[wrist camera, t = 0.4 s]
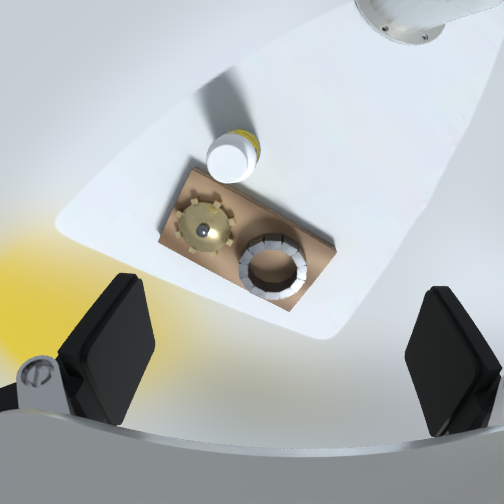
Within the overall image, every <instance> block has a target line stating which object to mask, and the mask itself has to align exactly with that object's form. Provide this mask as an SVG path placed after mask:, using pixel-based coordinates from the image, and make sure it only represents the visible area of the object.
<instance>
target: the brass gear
mask: <svg viewBox="0 0 504 504" xmlns="http://www.w3.org/2000/svg"><path fill="white" fill-rule="evenodd" d="M222 202H223V201H221V200H219V199H216V200H215V202H214V203H213V202H210V201H200V198H199V196H196V197H193V198H192V199H191V203H192V204H191V205H189V206H188V207H187V208H186V209H185V210H183V209H181V208H179V209H178V211H177V213H176V215H175V216H176V217H178V218H179V229H177V230H176V231H175V235H176V237H177V238H180V237H182V238H183V240H184V241H185V243H186V244H187V245H189V246H190V249H189V252H191V253H193V254H194V253H195V252H196V250H197V251H201V252H209V253H210V256H211V257H212V256H217V254H218V250H219V249H220V248H222V247H223V246H224V245H225V244H227V245H229V246H231V245H232V243H233V241H234V237H232V236H230V234H231V225H235V224H236V219H235V216H230V217H229V216H228V214H227V212H226V211H225V210H224V209H223V208H222V207H221V204H222Z"/></svg>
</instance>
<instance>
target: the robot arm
mask: <svg viewBox="0 0 504 504" xmlns="http://www.w3.org/2000/svg"><path fill="white" fill-rule="evenodd" d="M355 1H356V4H357V7H358V9H359V11H360V13H361V15H362V16H363V17H364V19H365V20H366V21H367V23H368V24H369V25H370V26H371V27H372V28H373V29H374V30H376V31H377V32H378V33H380V34H381V35H382V36H384V37H386V38H388V39H390V40H392V41H395V42H397V43H400V44H405V45H421V44H425V43H429V42H431V41H432V40H434V39H436V38H437V37H438V36H439V35H440V34H441V33H442V31H443V29H444V27H445V24H446V23H448V22H451V21H453V20H456V19H459V18H462V17H465V16H468V15H471V14H475V13H478V12H481V11H484V10H487V9H491V8H493V7H495V6H497V5H499V4H500V3H501V2H503V1H504V0H355ZM382 28H384V29H385V31H383V30H382ZM422 36H423V37H424V39H423V37H422ZM154 349H155V339H154V335H153V330H152V326H151V321H150V316H149V312H148V307H147V302H146V298H145V292H144V287H143V282H142V280H141V279H138V277H137V275H136V274H129V273H119V274H118V275H117V276H116V277H115V278H114V279H113V280H112V282H111V283H110V284H109V285H108V287H107V288H106V289H105V290H104V291H103V293H102V294H101V295H100V297H99V298H98V299H97V300H96V302H95V303H94V304H93V305H92V307H91V308H90V309H89V310H88V312H87V313H86V314H85V315H84V317H83V318H82V319H81V321H80V322H79V323H78V325H77V326H76V327H75V328H74V330H73V331H72V332H71V334H70V335H69V336H68V338H67V339H66V341H65V342H64V343H63V345H62V346H61V347H60V349H59V350H58V354H59V355H58V356H57V358H56V359H54V358H52V357H49V356H43V355H41V356H35V357H33V358H31V359H29V360H27V361H26V362H25V363H23V365H22V366H21V367H20V368H19V370H18V373H17V377H16V381H17V382H16V383H13V384H10V385H7V386H5V387H2V388H0V504H504V376H503V377H501V376H500V374H499V373H500V371H501V370H502V366H501V365H500V363H499V361H498V360H497V358H496V356H495V355H494V353H493V351H492V350H491V348H490V347H489V345H488V343H487V342H486V340H485V339H484V337H483V335H482V334H481V332H480V331H479V329H478V328H477V326H476V325H475V323H474V322H473V320H472V319H471V318H470V316H469V314H468V313H467V312H466V310H465V309H464V307H463V306H462V304H461V303H460V302H459V300H458V299H457V297H456V296H455V295H454V293H453V292H452V291H451V289H450V288H449V287H448V286H433V287H431V289H430V290H428V291H427V292H426V294H425V296H424V300H423V303H422V306H421V309H420V312H419V315H418V318H417V321H416V323H415V326H414V329H413V332H412V335H411V337H410V340H409V343H408V345H407V348H406V351H405V362H406V364H407V367H408V370H409V372H410V375H411V378H412V381H413V384H414V386H415V390H416V392H417V395H418V398H419V401H420V404H421V407H422V411H423V414H424V417H425V420H426V423H427V427H428V430H429V433H430V435H431V436H432V437H434V438H429V439H424V440H417V441H411V442H403V443H395V444H387V445H377V446H366V447H353V448H352V447H351V448H332V449H277V448H257V447H243V446H232V445H221V444H211V443H204V442H197V441H190V440H184V439H177V438H171V437H165V436H160V435H155V434H150V433H145V432H141V431H136V430H130V429H127V428H122V427H117V425H121V424H122V422H123V420H124V417H125V415H126V413H127V410H128V408H129V406H130V403H131V401H132V399H133V397H134V394H135V392H136V390H137V387H138V385H139V383H140V381H141V378H142V376H143V374H144V371H145V369H146V367H147V365H148V363H149V360H150V358H151V356H152V354H153V352H154Z"/></svg>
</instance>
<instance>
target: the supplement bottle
mask: <svg viewBox="0 0 504 504" xmlns="http://www.w3.org/2000/svg"><path fill="white" fill-rule="evenodd" d="M260 152H261V148H260V143H259V141H258V139H257V138H256V136H255V135H254V134H253V133H251V132H249V131H247V130H244V129H234V130H231V131H229V132H227V133H225V134H223V135H222V136H220V137H218V138H217V139H216V140H214V141H213V142H212V144H211V145H210V147H209V149H208V152H207V167H208V171H209V173H210V174H211V176H212V177H213V178H214V179H216V180H217V181H219V182H222V183H236V182H240V181H242V180H244V179H246V178H247V177H248V176H250V174H251V173H252V172H253V170H254V169H255V167H256V164H257V162H258V160H259V157H260Z"/></svg>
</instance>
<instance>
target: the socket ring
mask: <svg viewBox="0 0 504 504" xmlns="http://www.w3.org/2000/svg"><path fill="white" fill-rule="evenodd" d="M264 250H281V251H282V252H284V253H286V254H288V255H289V256H291V257H292V258H293V260H294V262H295V263H296V265H297V269H296V270H295V272H294V273H293V274H292V276H291V277H290V278H289V279H286V280H284V281H282V282H279V283H273V282H265V281H263V280H262V279H260V278H258V277H256V276H255V274H254V273H253V271H252V270H251V268H250V261H251V259H252V258H253V256H254V255H256V254H258V253H260V252H262V251H264ZM238 266H239V277H240V280H241V282H242V283H243V285H244V286H245V288H246V289H247V291H248V290H249V292H250V293H252V294H254V295H256V296H258V297H260V298H263V297H264V299H271V300H279V297H280V298H281V299H284V298H286V297H288V296H291V295H293V294H295V292H296V293H297V291H298V290H299V289H300V288H301V286H302V285H303V284H304V282H305V280H306V272H307V262H306V255H305V253H304V251H303V250H302V248H301V246H300V244H299V243H298V244H297V241H295V240H294V239H292V238H290V237H288V236H287V235H285V234H283V236H282V233H266V236H265V234H264V233H263V234H261V235H259V236H257V237H255V238H253V239H251V240H250V242H248V243H247V245H246V246H245V248H244V250H243V251H242V253H241V256H240V260H239V263H238Z"/></svg>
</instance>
